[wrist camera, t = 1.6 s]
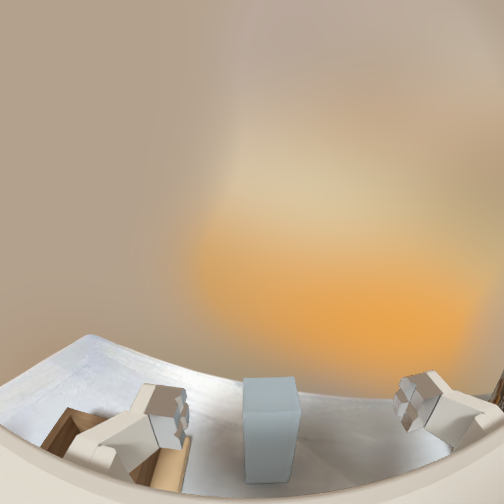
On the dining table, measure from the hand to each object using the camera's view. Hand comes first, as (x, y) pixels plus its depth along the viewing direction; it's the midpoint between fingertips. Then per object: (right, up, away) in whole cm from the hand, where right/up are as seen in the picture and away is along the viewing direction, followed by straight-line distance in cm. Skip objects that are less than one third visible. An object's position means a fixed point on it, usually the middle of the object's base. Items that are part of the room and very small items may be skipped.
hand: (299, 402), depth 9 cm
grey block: (0, -21, +17) cm, 27 cm away
